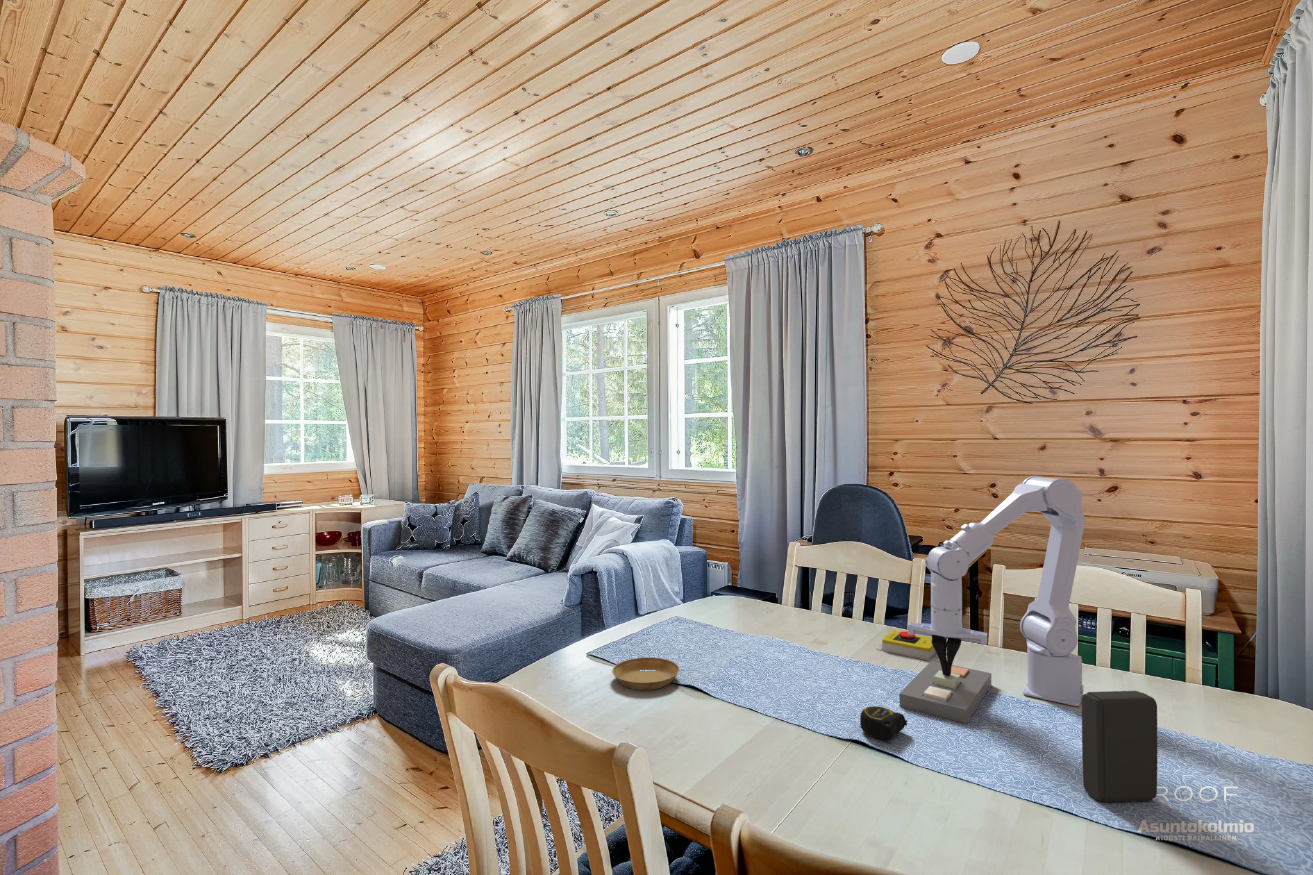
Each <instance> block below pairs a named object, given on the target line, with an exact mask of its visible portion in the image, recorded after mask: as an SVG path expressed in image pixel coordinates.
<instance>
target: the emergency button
mask: <svg viewBox="0 0 1313 875" xmlns="http://www.w3.org/2000/svg"><path fill="white" fill-rule="evenodd" d="M931 641H932V636H925V635H918V634H913V635H911V634H908V631H905V630H904V631H899V630H891V631H890V632H889V633H887V634H886V635H885V636H883V638H882V639H881V643H880V644H878V646H875V650H876V651H880V652H884V653H885V652H886V653H890V654H895V655H900V656H906V657H911V658H915V659H920V660H924V661H925V660H926V661H929V662H931V661H935V662H940V661H939V658H938V655H937V653H936V651H935V649H934V647H933V645H932V642H931ZM946 655H947V649H946Z"/></svg>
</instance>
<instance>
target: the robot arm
mask: <svg viewBox="0 0 1313 875" xmlns="http://www.w3.org/2000/svg"><path fill="white" fill-rule="evenodd" d="M1082 499H1083V492H1082V491H1081V490H1080V488H1078V486H1077V485H1076V484H1075V483H1074V482H1073V481H1072V480H1069V479H1067V478H1053V477H1043V476H1040V475H1032V476H1029V477H1027V478H1025V479H1024V480H1023V482H1022V483H1019V484H1018V485H1016V486H1015V488H1014V489H1013V491H1012V493H1010V494H1009V496H1007V497H1006V499H1004V500H1003V501H1002V502H1001V503H1000V504H998V506H996V508H994V509H993V510H992V511H991V512H990V513H989V514H988V515H987V516H986V517H985V518H984V519H983V520H981V521H980V522H970V523H964V524H963V525H961V526H960V529H961V530H960V531H959V532H958V533H956V534H955V535H954V536H953V537H951V538H950V539H949V540H947V539H946V540H945V541H943V543H942V544H943V546H935V547H934V548H932V549H930V551H929V553H928V555H927V557H926V559H924V561H925V566H926V567H927V569H928V570H929V573H930V623H923V622H922V623H921V622H919V623H916V622H908V623H907V632H908V634H911V635H913V634H915V635H921V636H926V637H932V641H931V642H932V645H933V647H934V649H935V651H936V653H937V655H938V658H939V661H940V664H941V667H942V673H943V675H946V676H950V675H951V668H952V665H953V664H954V660H955V658H956V655H957V653H958V652H959V650H960V648H961V644H962V642H968V643H976V644H980V645H983V646H987V645H988V633H987V632H983V631H979V630H978V631H977V630H972V629H969V628H964V627H963V584H962V583H963V580H962V579H963V577H964V576H966V574H967V573H968V570H969V565H970V564H971V563H972V562H973V561H974V560H975V559H977V558H978V557H979V556H981V555H982V554H983V553H984V552H985V551H986V550H988V549H989V548H990V547H991V546H992V545H993V544H994V538H995V537H994V536H996V534H998V533H999V532H1000V531H1002V530H1003V529H1005V528H1006V527H1007V526H1009V525H1011V524H1012V523H1013V522H1014V521H1016V520H1018V518H1020V517H1021V516H1023V515H1024V514H1026V513H1030V512H1040V513H1041V514H1042V516H1044V517H1045V519H1046V520H1047V521H1048V522H1049V524H1050V531H1049V537H1048V542H1047V547H1046V551H1045V556H1044V557H1045V558H1044V562H1043V566H1042V568H1043V569H1042V572H1041V578H1040V583H1039V587H1038V592H1037V597H1036V599H1034V600H1033V601H1031V602H1030V603H1028V604H1027V605H1028V606H1027V611H1026V612H1025V614H1024V615H1023V617H1022V618H1021V619H1020V621H1019V622H1020V623H1019V630H1020V632H1021V635H1022V636H1023V637H1024V638H1025V639H1026V644H1027V645H1026V647H1027V648H1026V649H1027V652H1026V653H1027V654H1026V655H1027V657H1026V658H1027V683H1026V684H1025V687H1024V688H1023V691H1022V694H1023V695H1024V696H1028V697H1033V698H1037V699H1041V700H1047V701H1050V702H1055V703H1059V704H1060V703H1061V704H1064V705H1069V706H1074V707H1080V706H1081V705H1080V704H1081V702H1082V696H1083V695H1084V685H1083V658H1082V656H1080V655H1077V654H1074V653H1072V652H1073V651H1074V650H1075V649H1076V648H1077V645H1078V642H1079V640H1078V635H1077V632H1076V630H1077V629H1076V627H1077V626H1076V625H1077V619H1076V617H1075V616H1074V614H1073V612H1072V611H1071V609H1070V600H1071V597H1072V591H1073V586H1074V580H1075V576H1076V571H1077V566H1078V560H1079V555H1080V551H1081V544H1082V539H1083V535H1084V529H1085V524H1086V519H1085V515H1084V510H1083V507H1082ZM946 650H947V654H946Z"/></svg>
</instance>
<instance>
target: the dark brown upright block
mask: <svg viewBox="0 0 1313 875" xmlns="http://www.w3.org/2000/svg"><path fill="white" fill-rule="evenodd" d="M1081 752H1082V753H1081V754H1082V760H1081V762H1082V783H1083V788H1084V791H1085V792H1086V793H1087V794H1088V795H1089V796H1091V798H1093V799H1094V800H1096V801H1100V802H1103V803H1111V802H1112V803H1113V802H1114V803H1116V802H1144V801H1149V802H1150V801H1152V800H1153V799H1155V798H1157V795H1158V704H1157V702H1156V699H1155V698H1154V697H1152V696H1151V695H1148V694H1146V693H1144V692H1139V691H1137V690H1119V691H1118V690H1115V691H1114V690H1112V691H1108V690H1107V691H1088V692H1086V693H1083V695H1082V698H1081Z"/></svg>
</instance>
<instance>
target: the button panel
mask: <svg viewBox="0 0 1313 875" xmlns="http://www.w3.org/2000/svg"><path fill="white" fill-rule="evenodd" d="M952 666H954V667H959V668H964V669H968V675H967V677H966V678H961V677H960V686H959V687H958V688H957V689H952V688H948V687H943V686H939V685H935V684H934V676H935V675H936V673H937V672H938V671H939V670H940V671H942V667H941V664H940V662H935V661H929V663H928V664H927V665H926V666H925V667H923V669H921V671H920V672H919V673H917V675H916V676H915V677H914V678H913V679H912V680H910V682H908V684H907V685H906V686H905V687H904V688H903V689H902V690H901V691H900V692H899V695H898V696H899V707H902V708H905V709H909V710H912V711H916V712H921V713H924V714H929V715H931V716H932V715H933V716H935V717H936V716H937V717H941V718H943V719H948V720H951V721H956V722H959V723H963V724H968V722H969V721H970V719H971V717H972V716H973V714H974V713H975V712H976V710H977V708H978V706H979V705H980V703H981V702H982V700H984V697H985V696H986V695H987V693H988V691H989V690H990V688H991V687H992V673H991V672H988V671H987V672H986V671H982V670H977V669H972V668H967V667H963V666H959V665H954V664H952ZM929 686H932V687H936V688H940V689H945V690H949V691H951V697H950V699H949V700H948V701H943V700H939V699H934V698H930V697H926V696H924V692H925V691H926V690H927V689H928V687H929Z"/></svg>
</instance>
